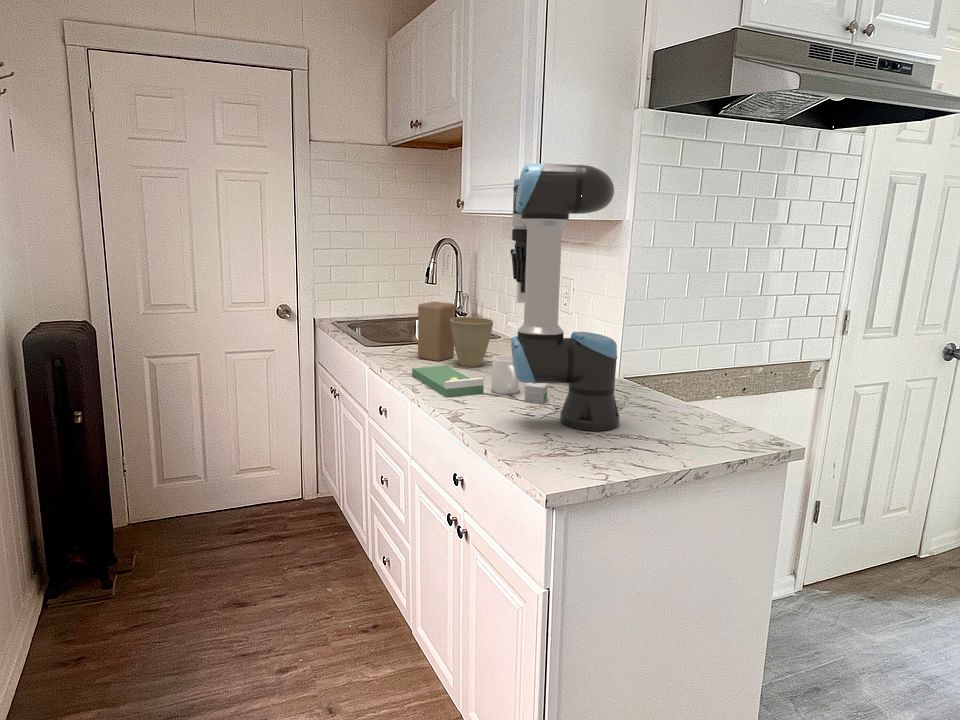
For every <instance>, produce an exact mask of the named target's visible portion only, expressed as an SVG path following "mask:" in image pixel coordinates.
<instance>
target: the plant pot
mask: <svg viewBox="0 0 960 720" xmlns="http://www.w3.org/2000/svg"><path fill="white" fill-rule="evenodd" d="M450 321H451V330H452V337H453V342H454V351H455V354H456V357H457V359H458V360H457V361H458V363H459V365H460V366H461V367H466V368H477V367H481V365H482V363H483V361H484V358H485V356H486V353H487V349H488V347H489V343H490V339H491V335H492V331H493V325H494V320H493V319H490V318H485V317H475V316H474V317H473V316H461V317H460V316H459V317H457V316H456V317H455V318H452V319H451V320H450Z"/></svg>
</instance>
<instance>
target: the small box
mask: <svg viewBox="0 0 960 720" xmlns="http://www.w3.org/2000/svg"><path fill="white" fill-rule="evenodd" d="M548 385H549V383H536V384H533V383H526V385H525V386H524V400H523V401H524V403H525V402H526V403H536V404H544V402H545V401H546V400H547V399H548V388H549V387H548Z"/></svg>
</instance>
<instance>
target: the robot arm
mask: <svg viewBox="0 0 960 720" xmlns="http://www.w3.org/2000/svg"><path fill="white" fill-rule="evenodd" d="M517 178H518V180H517ZM519 178H520V179H519ZM512 191H513V197H512V198H513V201H512V202H513V203H512V204H513V205H512V209H513V210H512V223H511V224H512V225H511V226H512V227H513V229H512V230H511V240H512V241H513V242H515V243H514V248H513V249H512V248H511V249H510V256H511V262H512V274H513V275H512V277H513V280H515V281H516V284H517V285H516V303H519V304H522V303H523V304H524V307H523V308H524V310H523V311H524V313H523V316H524V317H523V324H522V325H521V326H520V327H519V328H518V329H517V336H513V337H512V338H511V340H510V342H511V356H512V358H513V365H514V371H515V375H516V378H517V379H518V380H519V383H524V384H525V383H526V384H528V383H533V384H536V383H548V384H568V393H567V395H566V398H565V400H564V404H563V406H562V409H561V411H560V423H561V424H563V425H565V426H566V427H569V428H572V429H576V430H583V431H589V432H590V431H591V432H592V431H593V432H594V431H595V432H597V431H598V432H602V431H609V430H614V429H616V428H618V427H619V426H620V413H619V410H618V406H617V401H616V398H615V388H616V387H615V386H616V384H615V383H616V374H617V373H616V370H617V360H618V345H617V342H616V341H615V340H614V339H613V338H611V337H609V336H606V335H602V334H600V333H593V332H588V331H573V332H572V333H571V334H570V337H564V333H565V332H564V330H563V329H562V327H561V326H560V325H559V309H560V308H559V307H560V305H559V304H560V285H561V283H560V282H561V264H562V263H561V261H562V259H561V258H562V238H563V237H562V235H563V227H564V226H566V224H568V223H569V221H570V220H569V219H570V215H571V214H572V215H573V214H574V215H576V214H577V215H578V214H579V215H580V214H582V215H583V214H584V215H585V214H591V213H594V212H595V213H596V212H598V211H602V210H603V209H606V207H607V206H609V204H610V203H611V202H612V200H613V197H614V194H615V186H614V183H613V180H612V179H611V177H610V176H609V175H608V173H606V172H605V171H603V170H602V169H599V168H597V167H595V166H591V165H587V164H563V163H562V164H561V163H560V164H559V163H544V162H543V163H529V164H526V165H525V166H524V167H523V168H522V170H521V172H520V176H519V177H516V178H514V181H513V188H512ZM515 193H516V194H515ZM581 195H582V197H581Z"/></svg>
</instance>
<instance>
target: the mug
mask: <svg viewBox="0 0 960 720" xmlns="http://www.w3.org/2000/svg"><path fill="white" fill-rule="evenodd" d="M491 369H492V370H491V391H492V392H493V393H495V394H497V395H498V394H499V395H505V396H506V395H515V394H517V393H519V392H520V391H519V390H520V381H519V380H518V379H517V378H516V375H515V371H514V365H513V358H512V355H507V354H505V355H504V354H503V355H502V354H501V355H495V356H492V365H491Z"/></svg>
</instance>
